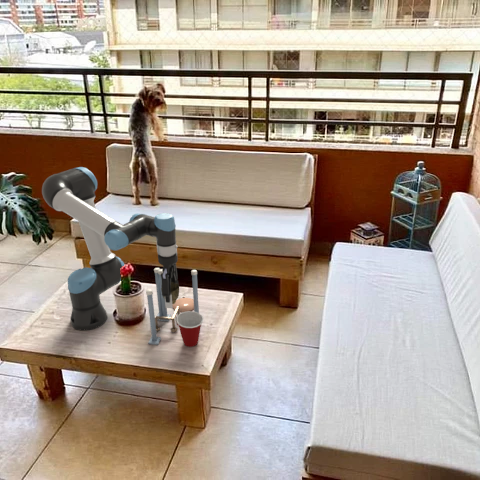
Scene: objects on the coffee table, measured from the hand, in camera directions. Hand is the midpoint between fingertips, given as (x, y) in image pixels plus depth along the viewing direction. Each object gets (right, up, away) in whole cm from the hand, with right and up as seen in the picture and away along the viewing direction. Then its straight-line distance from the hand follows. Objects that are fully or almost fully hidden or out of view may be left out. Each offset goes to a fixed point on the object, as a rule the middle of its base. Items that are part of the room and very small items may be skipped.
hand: (171, 302), depth 183 cm
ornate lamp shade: (0, 0, 0) cm, 0 cm away
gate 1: (-6, -12, +6) cm, 15 cm away
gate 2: (+1, -9, +14) cm, 16 cm away
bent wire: (-3, -11, +10) cm, 15 cm away
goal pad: (+2, -5, +23) cm, 23 cm away
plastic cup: (+8, -16, -1) cm, 18 cm away
